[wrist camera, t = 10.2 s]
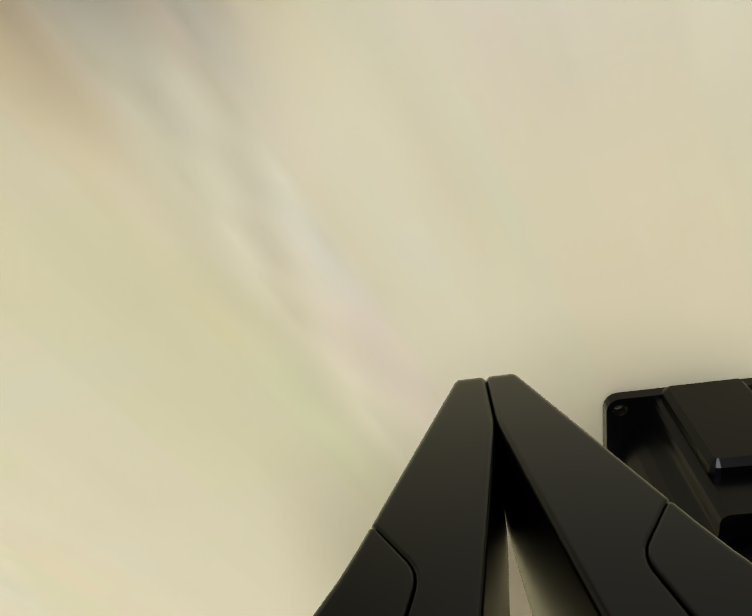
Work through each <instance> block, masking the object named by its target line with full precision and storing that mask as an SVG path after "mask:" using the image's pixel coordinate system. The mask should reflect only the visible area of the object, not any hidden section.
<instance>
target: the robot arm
mask: <svg viewBox="0 0 752 616" xmlns="http://www.w3.org/2000/svg"><path fill="white" fill-rule="evenodd" d="M617 405H624V406H623V407H622V408H621V409H617V410H616V409H614V408H615V407H616V406H617ZM603 418H604V446H602V445H601V444H600V443H599V442H598V441H596V440H595V439H594V438H593V437H591V436H590V435H589V434H588V433H586V432H585V431H584V430H583V429H582V428H580V427H579V426H578V425H577V424H575V423H574V422H573V421H572V420H570V419H569V418H568V417H567V416H566V415H564V414H563V413H562V412H561V411H559V410H558V409H557V408H556V407H554V406H553V405H552V404H551V403H550V402H548V401H547V400H546V399H545V398H543V397H542V396H541V395H540V394H538V393H537V392H536V391H535V390H534V389H532V388H531V387H530V386H529V385H527V384H526V383H525V382H524V381H522V380H521V379H520V378H519V377H518V376H516V375H514V374H509V375H500V376H492V377H489V378H488V379H487V380H486V381H485V380H484V379H482V378H475V379H466V380H459V381H457V382H456V383H455V384H454V386H453V388H452V390H451V391H450V393H449V395H448V396H447V398H446V400H445V402H444V403H443V405H442V407H441V409H440V410H439V412H438V414H437V415H436V417H435V419H434V421H433V422H432V424H431V426H430V427H429V429H428V431H427V433H426V434H425V436H424V438H423V439H422V441H421V443H420V445H419V446H418V448H417V450H416V451H415V453H414V455H413V457H412V458H411V460H410V462H409V463H408V465H407V467H406V469H405V470H404V472H403V474H402V475H401V477H400V479H399V481H398V482H397V484H396V486H395V488H394V489H393V491H392V493H391V494H390V496H389V498H388V500H387V501H386V503H385V505H384V506H383V508H382V510H381V512H380V513H379V515H378V517H377V518H376V520H375V522H374V524H373V525H372V529H370V530H369V531H368V533H367V535H366V537H365V538H364V540H363V542H362V544H361V545H360V547H359V549H358V551H357V552H356V554H355V555H354V557H353V559H352V560H351V562H350V563H349V565H348V567H347V568H346V570H345V571H344V573H343V574H342V576H341V578H340V579H339V581H338V582H337V584H336V585H335V586H334V588H333V589H332V590H331V592H330V593H329V595H328V596H327V597H326V599H325V600H324V601H323V603H322V604H321V606H320V607H319V608H318V610H317V611H316V612H315V614H314V615H313V616H510V608H509V572H508V543H507V529H506V522H507V528H508V532H509V536H510V540H511V544H512V547H513V551H514V554H515V557H516V561H517V564H518V567H519V571H520V574H521V578H522V581H523V584H524V588H525V591H526V594H527V598H528V601H529V604H530V608H531V611H532V614H533V616H752V378H747V379H731V380H722V381H713V382H704V383H695V384H686V385H677V386H669V387H665V388H656V389H647V390H638V391H629V392H620V393H615V394H611V395H610V396H608V397H607V398H606V400H605V401H604V405H603ZM505 517H506V520H505Z"/></svg>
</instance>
